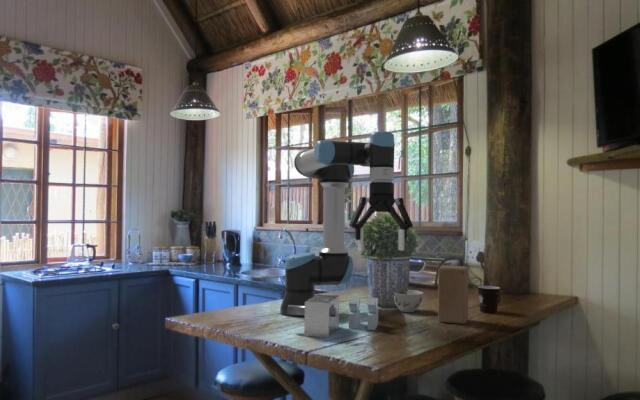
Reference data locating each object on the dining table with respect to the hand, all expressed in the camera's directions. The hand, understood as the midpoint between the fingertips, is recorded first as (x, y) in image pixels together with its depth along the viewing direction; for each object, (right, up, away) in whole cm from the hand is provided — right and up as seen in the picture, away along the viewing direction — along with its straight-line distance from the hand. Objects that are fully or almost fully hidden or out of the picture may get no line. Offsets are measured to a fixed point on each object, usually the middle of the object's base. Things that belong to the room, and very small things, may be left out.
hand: (381, 250), depth 157 cm
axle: (-22, -22, +10) cm, 33 cm away
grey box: (-18, -28, +13) cm, 36 cm away
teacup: (+18, -30, +51) cm, 61 cm away
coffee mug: (+49, -30, +48) cm, 76 cm away
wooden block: (+31, -29, +31) cm, 53 cm away
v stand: (-4, -28, +20) cm, 35 cm away
